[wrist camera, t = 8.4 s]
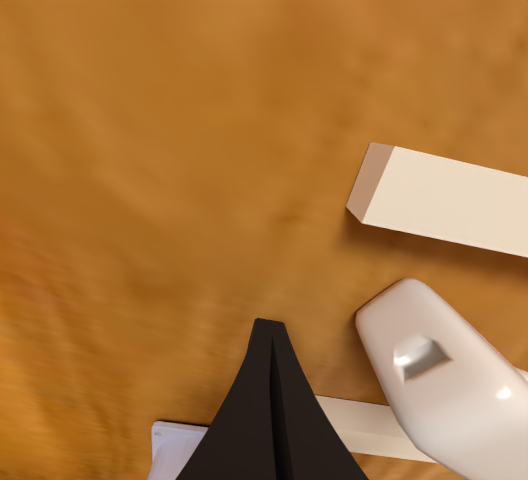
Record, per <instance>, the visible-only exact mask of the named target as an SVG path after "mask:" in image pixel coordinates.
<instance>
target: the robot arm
mask: <svg viewBox="0 0 528 480" xmlns="http://www.w3.org/2000/svg"><path fill="white" fill-rule="evenodd" d="M151 431H152V461H153V464H152V467H151V469H150V472H149V475H148V478H147V480H369V479H368V478H367V476H366V475H365V474H364V472H363V471H362V469H361V468H360V467H359V465H358V464H357V462H356V461H355V459H354V458H353V456H352V455H351V453H350V452H349V450H348V449H347V448H346V446H345V445H344V443H343V442H342V440H341V439H340V437H339V436H338V434H337V432H336V431H335V429H334V428H333V426H332V424H331V423H330V421H329V419H328V418H327V416H326V414H325V413H324V411H323V409H322V407H321V406H320V404H319V402H318V400H317V398H316V397H315V395H314V393H313V391H312V389H311V387H310V385H309V383H308V381H307V379H306V377H305V375H304V373H303V370H302V368H301V366H300V364H299V361H298V359H297V357H296V354H295V352H294V349H293V347H292V344H291V342H290V339H289V336H288V333H287V330H286V327H285V324H284V323H283V322H278V321H272V320H266V319H261V318H257V319H255V322H254V325H253V329H252V333H251V336H250V340H249V344H248V349H247V353H246V356H245V359H244V361H243V363H242V365H241V368H240V370H239V372H238V374H237V377H236V379H235V381H234V383H233V385H232V387H231V389H230V391H229V393H228V395H227V396H226V398H225V400H224V402H223V404H222V406H221V407H220V409H219V411H218V413H217V415H216V416H215V418H214V420H213V421H212V423H211V425H210V427H209V428H208V427H200V426H193V425H185V424H178V423H170V422H162V421H156V422H155V423H154V424H153V426H152V429H151Z"/></svg>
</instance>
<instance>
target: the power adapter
mask: <svg viewBox="0 0 528 480" xmlns="http://www.w3.org/2000/svg"><path fill="white" fill-rule="evenodd" d="M355 325H356V328H357V331H358V333H359V336H360V338H361V341H362V343H363V346H364V348H365V351H366V353H367V355H368V358H369V360H370V362H371V365H372V367H373V369H374V372H375V374H376V376H377V379H378V381H379V383H380V385H381V388H382V390H383V392H384V394H385V397H386V399H387V401H388V403H389V405H390V407H391V409H392V412H393V414H394V416H395V418H396V420H397V422H398V424H399V425H400V427H401V428H402V429H403V431H404V432H405V433H406V435H407V436H408V438H409V439H410V440H411V442H412V443H413V444H414V446H415V447H416V449H418V450H419V451H421V452H422V453H423V454H425V455H426V456H428V457H429V458H431V459H433V460H434V461H436V462H437V463H439V464H441V465H443V466H444V467H446V468H448V469H450V470H451V471H453V472H455V473H457V474H458V475H460V476H462V477H464V478H466V479H467V480H528V372H527V371H524V370H521V369H518V368H515V367H513V366H512V365H511V364H510V363H509V362H508V361H507V360H506V359H505V358H504V357H503V356H502V355H501V354H500V353H499V352H498V351H497V350H496V349H495V348H494V347H493V346H492V345H491V344H490V343H489V342H488V341H487V340H486V339H485V338H484V337H483V336H482V335H481V334H480V333H479V332H478V331H476V330H475V329H474V328H473V327H472V326H471V325H470V324H469V323H468V322H467V321H466V320H465V319H464V318H463V317H462V316H461V315H460V314H458V313H457V312H456V311H455V310H454V309H453V308H452V307H451V306H450V305H449V304H448V303H447V302H446V301H445V300H443V299H442V298H441V297H440V296H439V295H438V294H437V293H436V292H435V291H433V290H432V289H431V288H430V287H429V286H428V285H426V284H425V283H423V282H421V281H419V280H417V279H413V278H403V279H402V280H400V281H398V282H396V283H395V284H393V285H392V286H390V287H389V288H387V289H386V290H384V291H383V292H382V293H380V294H379V295H377V296H376V297H375V298H373V299H372V300H371V301H369V302H368V303H367V304H365V305H364V306H363V307H362V308H361V309H360V310H358V311H357V314H356V320H355Z"/></svg>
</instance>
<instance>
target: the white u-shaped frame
mask: <svg viewBox="0 0 528 480" xmlns="http://www.w3.org/2000/svg"><path fill="white" fill-rule="evenodd" d="M346 207H347V208H348V209H349V210H350V211H351V212H352V214H353V215H354V216H355V217H356V218H357V219H358V220H359V221H360V222H361V223H364V224H368V225H373V226H378V227H383V228H388V229H393V230H397V231H402V232H407V233H412V234H417V235H422V236H427V237H431V238H436V239H441V240H446V241H451V242H456V243H460V244H465V245H470V246H475V247H480V248H485V249H490V250H494V251H499V252H504V253H509V254H514V255H519V256H523V257H528V177H524V176H520V175H516V174H511V173H507V172H503V171H499V170H494V169H490V168H486V167H482V166H477V165H473V164H469V163H464V162H460V161H456V160H452V159H447V158H443V157H439V156H435V155H430V154H426V153H422V152H418V151H413V150H409V149H405V148H401V147H396V146H391V145H384V144H378V143H372V142H370V145H369V148H368V150H367V153H366V155H365V158H364V161H363V163H362V166H361V168H360V171H359V174H358V176H357V179H356V181H355V184H354V187H353V189H352V192H351V194H350V197H349V200H348V202H347V205H346ZM315 397H316V398H317V400H318V402H319V404H320V406H321V407H322V409H323V411H324V413H325V414H326V416H327V418H328V419H329V421H330V423H331V424H332V426H333V428H334V429H335V431H336V432H337V434H338V436H339V437H340V439H341V440H342V442H343V443H344V445H345V446H346V448H347V449H348V450H349V452H357V453H364V454H372V455H380V456H387V457H395V458H403V459H410V460H418V461H426V462H433V463H437V462H436V461H434V460H433V459H431V458H429V457H428V456H426V455H425V454H423V453H422V452H421V451H419V450H418V449H416V447H415V446H414V444H413V443H412V442H411V440H410V439H409V438H408V436H407V435H406V433H405V432H404V431H403V429H402V428H401V427H400V425H399V424H398V422H397V420H396V418H395V416H394V414H393V412H392V409H391V407H390V406H385V405H378V404H371V403H364V402H358V401H351V400H344V399H337V398H330V397H324V396H317V395H315Z"/></svg>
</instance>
